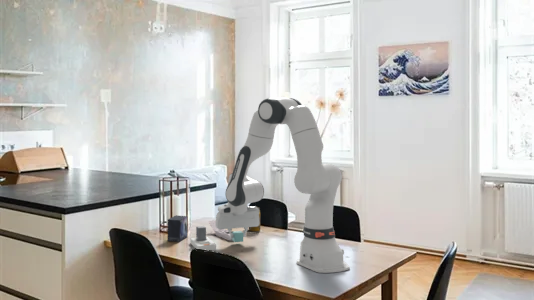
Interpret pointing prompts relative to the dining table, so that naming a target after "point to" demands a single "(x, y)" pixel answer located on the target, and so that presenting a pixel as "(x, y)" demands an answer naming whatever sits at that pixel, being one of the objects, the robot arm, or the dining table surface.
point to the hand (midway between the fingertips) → (237, 237)
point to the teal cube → (238, 236)
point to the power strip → (203, 244)
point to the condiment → (255, 229)
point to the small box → (177, 228)
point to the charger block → (200, 233)
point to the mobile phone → (220, 231)
